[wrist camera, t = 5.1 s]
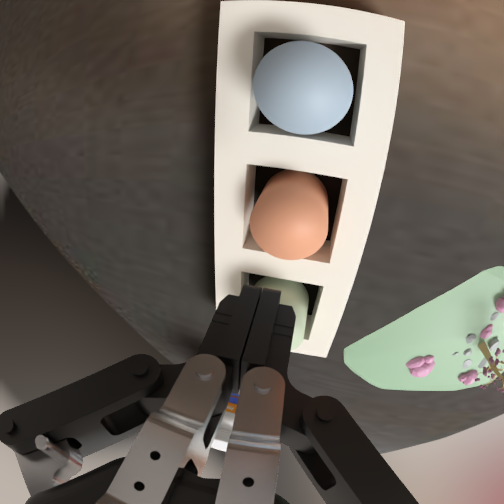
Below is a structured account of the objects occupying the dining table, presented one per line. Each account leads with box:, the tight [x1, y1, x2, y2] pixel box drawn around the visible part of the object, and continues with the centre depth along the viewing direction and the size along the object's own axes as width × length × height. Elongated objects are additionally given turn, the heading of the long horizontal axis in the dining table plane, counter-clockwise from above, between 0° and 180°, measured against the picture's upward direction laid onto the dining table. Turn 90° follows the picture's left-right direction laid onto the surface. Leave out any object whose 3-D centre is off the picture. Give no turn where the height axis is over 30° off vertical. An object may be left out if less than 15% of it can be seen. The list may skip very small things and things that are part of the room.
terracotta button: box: [250, 169, 328, 260], centre depth 19 cm, size 5×5×4 cm
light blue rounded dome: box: [253, 41, 353, 135], centre depth 14 cm, size 5×5×4 cm
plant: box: [343, 266, 504, 392], centre depth 22 cm, size 25×21×9 cm
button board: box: [214, 0, 405, 357], centre depth 20 cm, size 10×26×3 cm, turn 177°
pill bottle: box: [211, 389, 240, 451], centre depth 31 cm, size 5×5×10 cm
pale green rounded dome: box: [255, 276, 309, 351], centre depth 23 cm, size 5×5×4 cm
